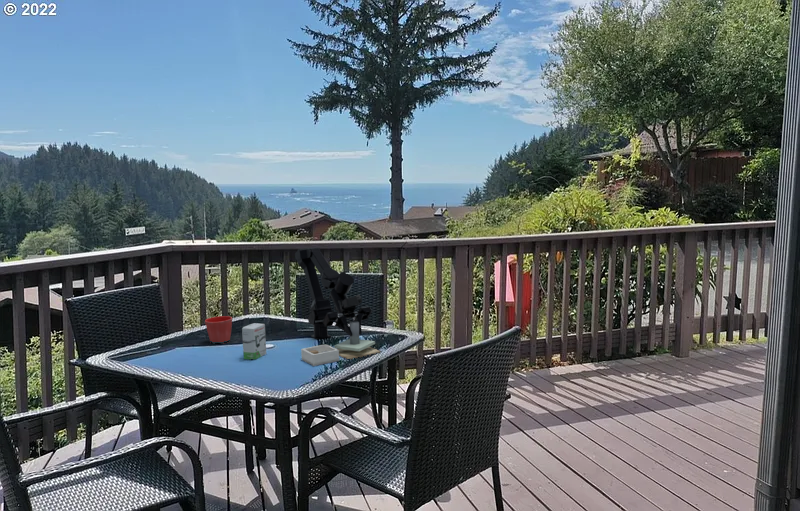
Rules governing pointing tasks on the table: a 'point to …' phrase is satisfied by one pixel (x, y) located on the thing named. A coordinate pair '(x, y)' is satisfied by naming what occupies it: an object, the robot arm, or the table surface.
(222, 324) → the flower pot
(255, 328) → the ink box
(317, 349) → the storage box
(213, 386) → the table surface
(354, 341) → the lid
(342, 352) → the tan wooden square board
